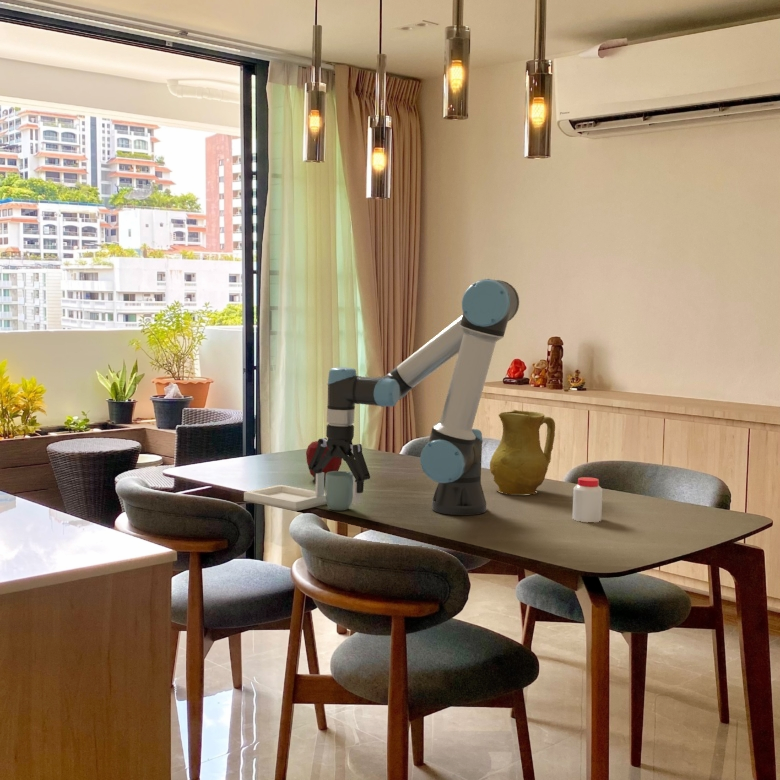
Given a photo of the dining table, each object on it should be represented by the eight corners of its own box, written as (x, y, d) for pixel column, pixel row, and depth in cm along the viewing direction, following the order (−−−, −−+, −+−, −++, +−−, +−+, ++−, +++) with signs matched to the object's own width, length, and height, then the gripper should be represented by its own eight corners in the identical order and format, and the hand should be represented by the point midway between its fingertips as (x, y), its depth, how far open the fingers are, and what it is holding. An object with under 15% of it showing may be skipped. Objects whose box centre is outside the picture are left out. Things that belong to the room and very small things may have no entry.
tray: (331, 502, 278) (331, 494, 278) (295, 511, 267) (295, 502, 266) (280, 493, 291) (280, 484, 290) (243, 500, 279) (244, 492, 278)
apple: (333, 484, 306) (334, 441, 305) (299, 481, 310) (299, 439, 308) (347, 477, 317) (348, 436, 316) (314, 474, 321) (315, 434, 320)
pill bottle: (595, 524, 259) (597, 482, 258) (567, 519, 263) (569, 479, 262) (605, 518, 266) (607, 478, 264) (578, 514, 270) (579, 475, 269)
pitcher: (490, 483, 310) (497, 405, 307) (550, 490, 306) (557, 411, 303) (484, 495, 293) (491, 413, 290) (547, 502, 290) (554, 419, 286)
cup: (349, 513, 266) (350, 476, 265) (321, 511, 267) (322, 475, 266) (356, 507, 273) (356, 471, 272) (329, 505, 275) (329, 470, 274)
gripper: (384, 428, 263) (381, 505, 266) (315, 417, 278) (313, 490, 281) (367, 431, 257) (364, 510, 260) (297, 419, 272) (295, 494, 275)
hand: (337, 500), depth 270 cm, fingers open, 13 cm apart
